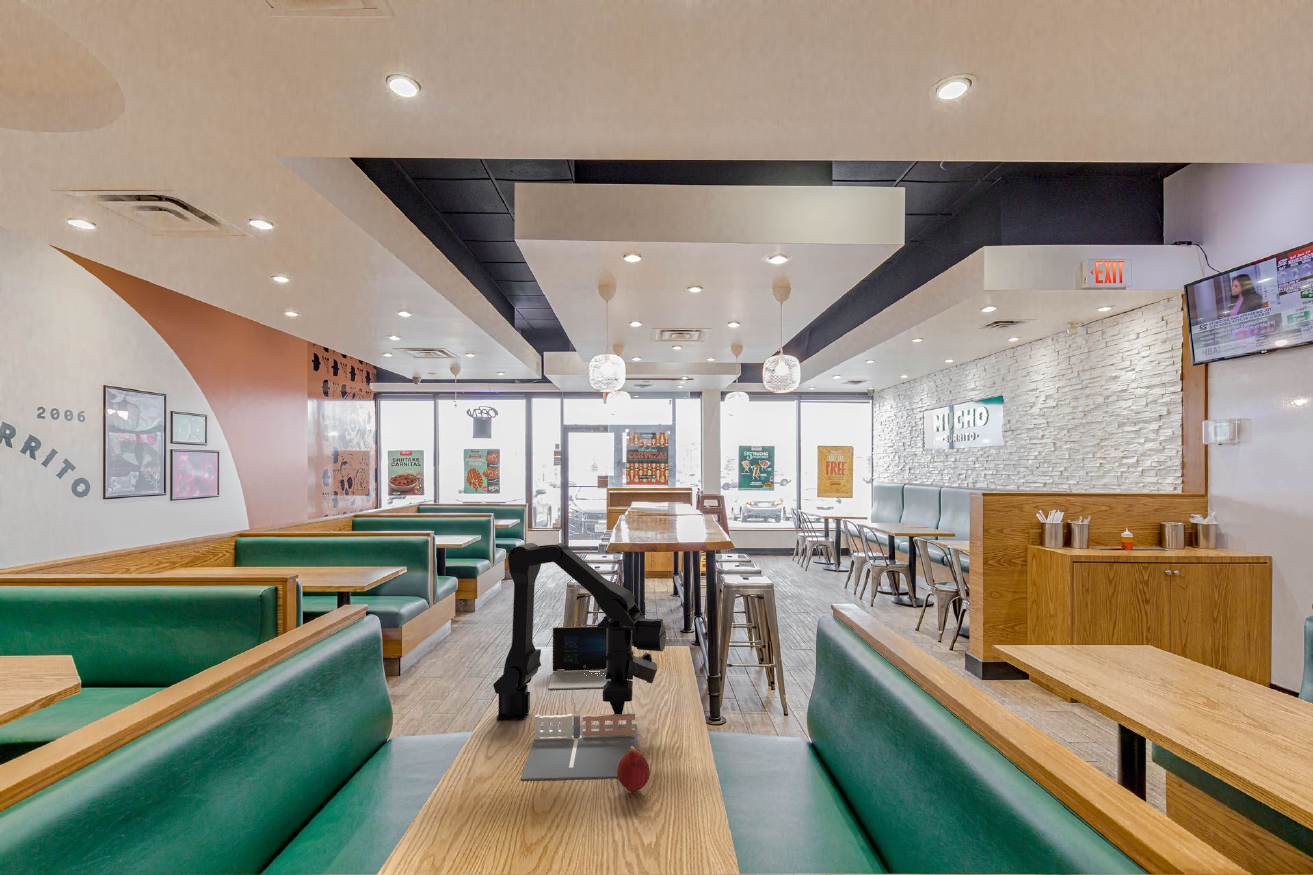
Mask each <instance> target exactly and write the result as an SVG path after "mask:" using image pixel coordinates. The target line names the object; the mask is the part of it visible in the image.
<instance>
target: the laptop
mask: <svg viewBox="0 0 1313 875" xmlns="http://www.w3.org/2000/svg"><path fill="white" fill-rule="evenodd" d="M606 652H607V628H601V627H598V626H597V625H596V626H592V625H591V626H560V627H559V626H558V627H557V626H556V627H555V626H554V627H553V628H552V672H551V673H552V674H551V677H550V680H549V684H548V688H547V689H548V690H579V689H583V688H586V689H603V688H604V685H605V684H606V683H607V681H610V679H606V676H605V675H606V662H607V660H606ZM589 671H600V672H589ZM584 673H585V674H584ZM591 673H592V674H591ZM595 673H598V674H595ZM599 673H600V674H599ZM603 673H604V674H603ZM586 675H587V676H586ZM597 675H598V676H597ZM601 675H602V676H601Z"/></svg>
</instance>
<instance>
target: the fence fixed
mask: <svg viewBox="0 0 1313 875" xmlns="http://www.w3.org/2000/svg"><path fill="white" fill-rule="evenodd" d="M541 723H543V726H544V730H540V726H541ZM551 723H552V726H553V730H550V726H551ZM559 723H560V724H559ZM559 725H561V730H559ZM572 725H573V713H567V714H562V715H559V714H558V715H557V714H556V715H555V714H554V715H541V714H535V716H534V738H535V740H538V739H540V736H544V737H549V736H553V737H558V736H561V737H567V739H572Z"/></svg>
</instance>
